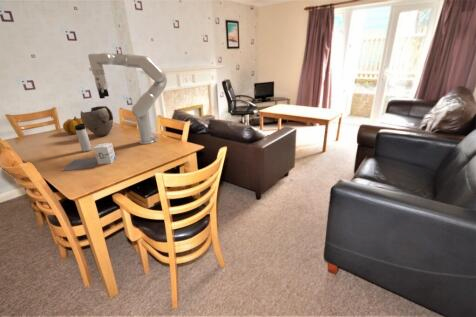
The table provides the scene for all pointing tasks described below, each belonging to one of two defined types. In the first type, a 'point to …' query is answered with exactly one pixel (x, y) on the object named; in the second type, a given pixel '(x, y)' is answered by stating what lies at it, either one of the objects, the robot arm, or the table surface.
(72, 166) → the rubber mat
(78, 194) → the table surface
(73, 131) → the decorative pumpkin
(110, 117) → the clay pot
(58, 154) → the table surface
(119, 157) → the table surface
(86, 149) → the travel mug
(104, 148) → the ink box
